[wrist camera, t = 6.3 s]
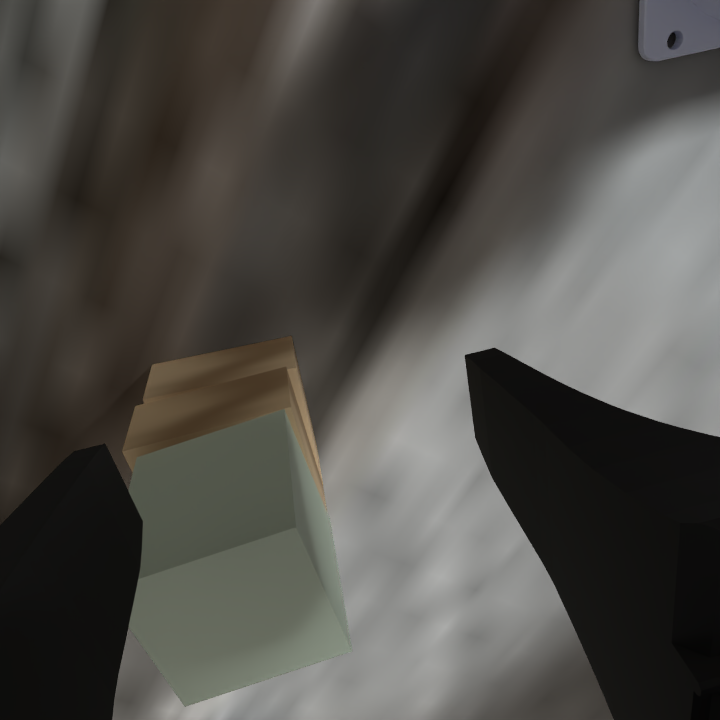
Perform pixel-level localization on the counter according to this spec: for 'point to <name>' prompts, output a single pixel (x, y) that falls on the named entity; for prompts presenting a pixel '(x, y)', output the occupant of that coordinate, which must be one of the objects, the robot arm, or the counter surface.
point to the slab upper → (217, 415)
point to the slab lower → (230, 374)
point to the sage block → (234, 561)
